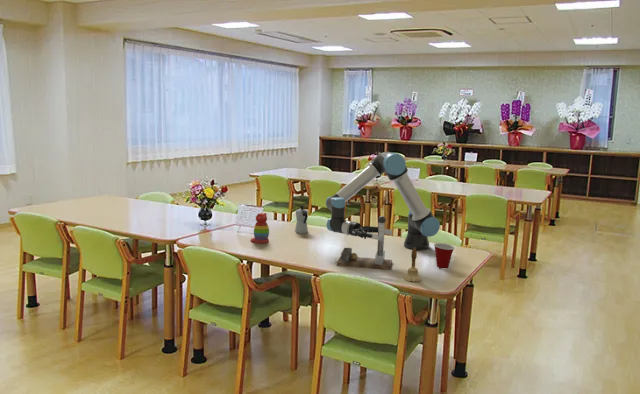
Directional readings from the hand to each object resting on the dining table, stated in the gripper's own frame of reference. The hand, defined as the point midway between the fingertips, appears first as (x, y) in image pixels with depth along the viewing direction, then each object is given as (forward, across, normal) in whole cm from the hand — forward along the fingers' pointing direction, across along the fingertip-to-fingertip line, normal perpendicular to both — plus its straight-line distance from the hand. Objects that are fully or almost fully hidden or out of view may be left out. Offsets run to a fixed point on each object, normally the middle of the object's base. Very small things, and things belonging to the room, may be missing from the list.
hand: (385, 234), depth 284 cm
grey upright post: (-2, 0, -15) cm, 15 cm away
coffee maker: (-81, -28, -17) cm, 88 cm away
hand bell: (+23, +9, -17) cm, 30 cm away
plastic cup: (+24, -21, -17) cm, 36 cm away
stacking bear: (-82, +8, -17) cm, 85 cm away
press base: (-10, +4, -17) cm, 20 cm away
